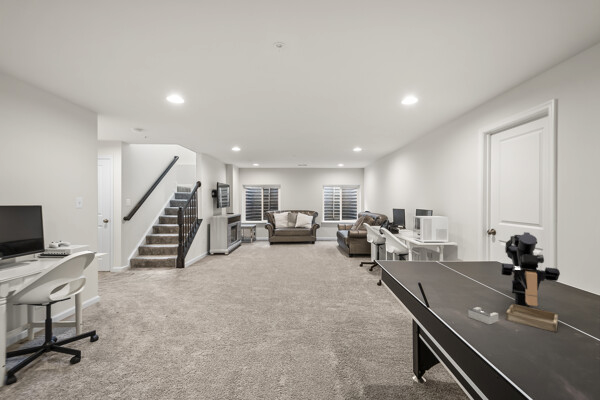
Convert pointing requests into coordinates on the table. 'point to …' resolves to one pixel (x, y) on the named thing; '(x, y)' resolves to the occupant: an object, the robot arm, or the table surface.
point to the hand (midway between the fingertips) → (531, 289)
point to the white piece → (483, 315)
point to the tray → (532, 317)
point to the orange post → (531, 288)
